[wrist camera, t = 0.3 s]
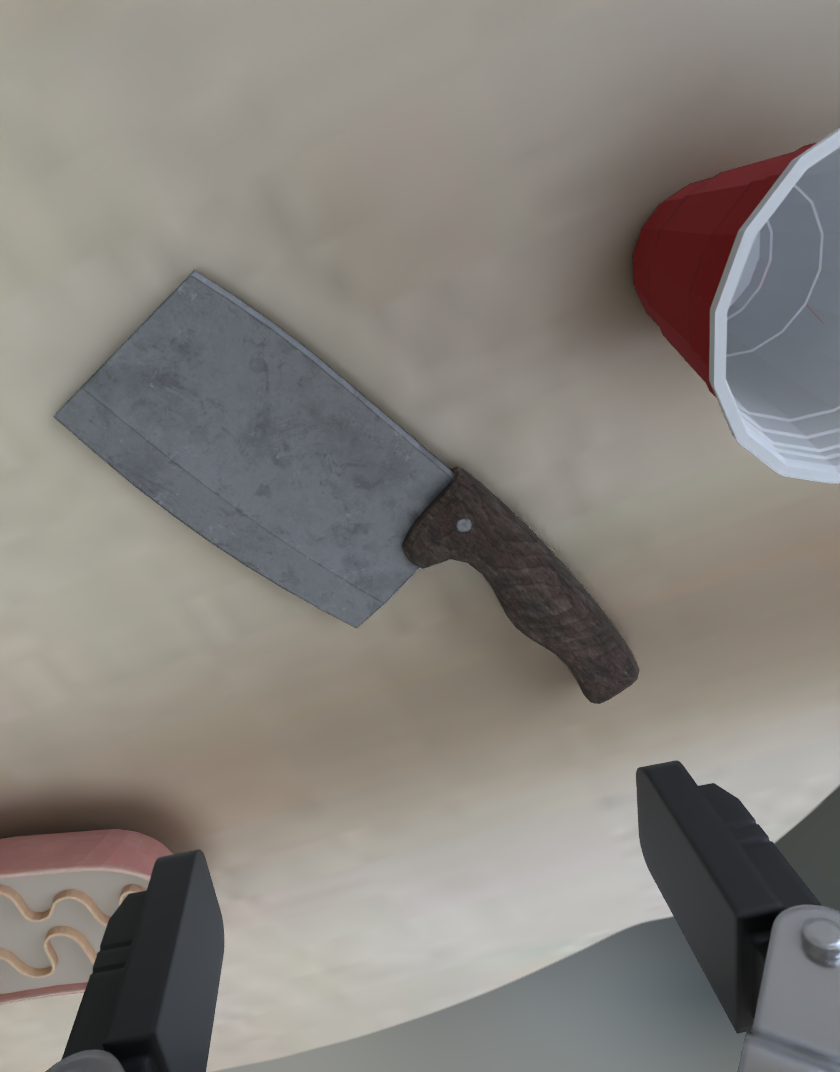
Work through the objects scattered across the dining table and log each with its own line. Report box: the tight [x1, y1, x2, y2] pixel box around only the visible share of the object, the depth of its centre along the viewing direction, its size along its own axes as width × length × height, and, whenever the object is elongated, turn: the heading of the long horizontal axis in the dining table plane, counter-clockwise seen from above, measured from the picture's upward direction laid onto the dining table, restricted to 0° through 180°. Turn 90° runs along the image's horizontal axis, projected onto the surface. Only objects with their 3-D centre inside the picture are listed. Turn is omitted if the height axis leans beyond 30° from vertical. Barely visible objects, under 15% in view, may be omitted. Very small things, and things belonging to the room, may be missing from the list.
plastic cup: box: [633, 128, 840, 484], centre depth 27 cm, size 11×11×12 cm
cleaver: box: [53, 270, 639, 704], centre depth 36 cm, size 29×10×2 cm, turn 49°
